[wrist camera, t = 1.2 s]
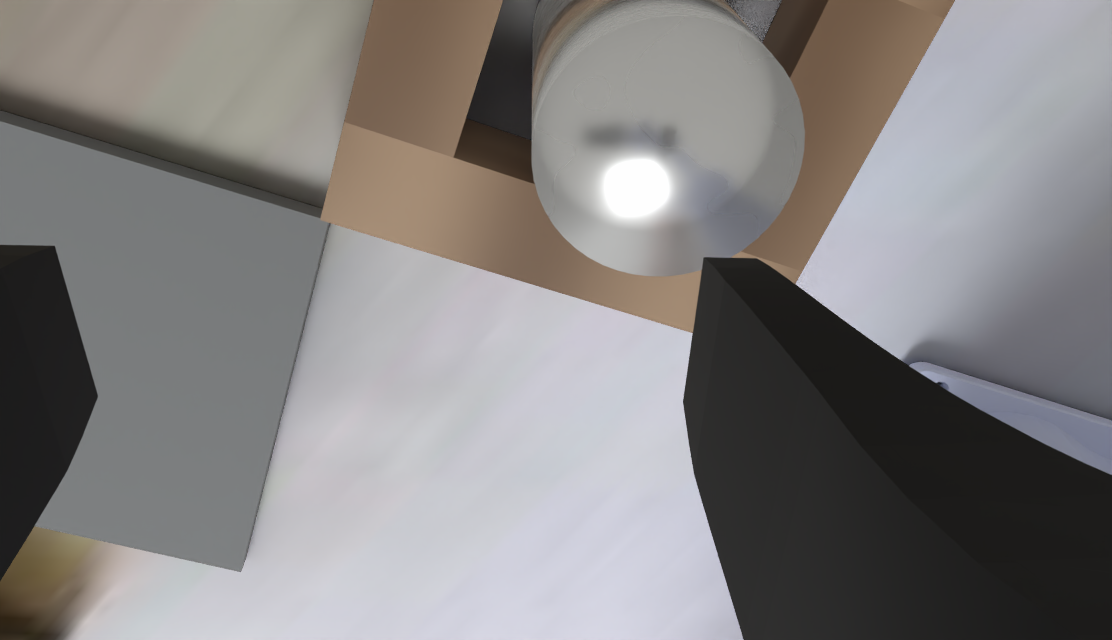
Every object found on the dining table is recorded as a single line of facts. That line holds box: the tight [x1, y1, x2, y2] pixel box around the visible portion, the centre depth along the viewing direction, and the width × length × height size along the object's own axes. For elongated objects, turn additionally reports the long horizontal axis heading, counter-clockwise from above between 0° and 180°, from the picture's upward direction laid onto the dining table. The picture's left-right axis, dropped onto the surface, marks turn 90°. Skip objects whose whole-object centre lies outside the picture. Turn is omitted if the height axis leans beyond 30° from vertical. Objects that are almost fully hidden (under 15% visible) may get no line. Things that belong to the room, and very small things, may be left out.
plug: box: [532, 0, 805, 276], centre depth 16 cm, size 4×4×7 cm
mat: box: [0, 110, 330, 572], centre depth 22 cm, size 12×12×1 cm
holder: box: [320, 0, 955, 333], centre depth 18 cm, size 10×10×2 cm
